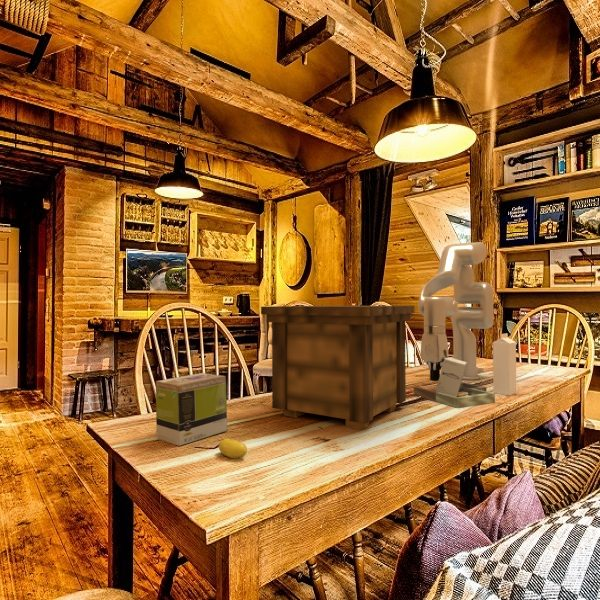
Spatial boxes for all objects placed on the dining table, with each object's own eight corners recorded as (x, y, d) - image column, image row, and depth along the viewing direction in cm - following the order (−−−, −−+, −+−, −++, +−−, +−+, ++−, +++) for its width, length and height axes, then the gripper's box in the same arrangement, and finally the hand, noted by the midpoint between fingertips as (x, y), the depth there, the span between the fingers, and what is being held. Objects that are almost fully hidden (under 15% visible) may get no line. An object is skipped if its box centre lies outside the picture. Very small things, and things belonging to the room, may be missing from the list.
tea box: (203, 425, 116) (203, 371, 116) (228, 432, 110) (227, 375, 110) (154, 438, 104) (154, 379, 104) (178, 447, 98) (178, 384, 98)
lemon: (228, 450, 96) (228, 433, 96) (251, 458, 91) (251, 440, 91) (213, 455, 93) (213, 437, 93) (236, 464, 88) (236, 445, 88)
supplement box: (434, 392, 149) (443, 358, 147) (437, 388, 155) (446, 355, 154) (456, 399, 146) (465, 364, 144) (458, 394, 152) (467, 361, 151)
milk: (516, 393, 155) (516, 333, 155) (509, 395, 151) (510, 334, 151) (499, 390, 159) (499, 332, 159) (492, 393, 155) (492, 333, 155)
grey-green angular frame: (460, 389, 162) (460, 381, 162) (507, 400, 143) (507, 391, 143) (413, 395, 152) (413, 387, 152) (457, 407, 133) (457, 398, 133)
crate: (261, 416, 124) (261, 306, 125) (321, 394, 154) (320, 305, 154) (370, 436, 105) (369, 306, 105) (415, 407, 134) (414, 305, 135)
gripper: (413, 329, 159) (413, 378, 159) (441, 331, 146) (441, 384, 145) (428, 329, 162) (428, 376, 162) (457, 331, 149) (458, 383, 148)
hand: (434, 380), depth 154 cm, fingers closed
